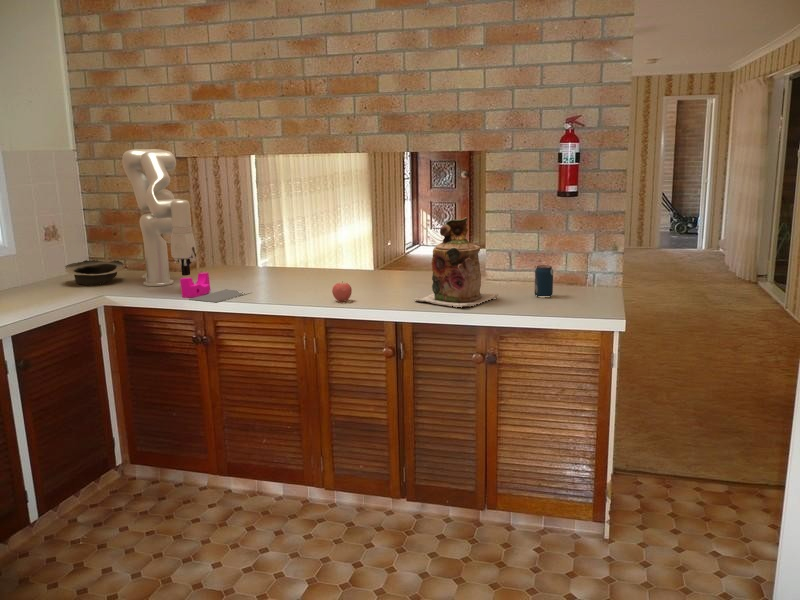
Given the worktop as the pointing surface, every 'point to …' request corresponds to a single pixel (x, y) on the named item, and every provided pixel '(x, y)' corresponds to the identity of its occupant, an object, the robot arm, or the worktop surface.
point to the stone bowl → (94, 271)
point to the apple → (342, 291)
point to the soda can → (544, 280)
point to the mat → (218, 296)
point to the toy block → (195, 286)
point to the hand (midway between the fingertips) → (186, 275)
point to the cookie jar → (456, 269)
